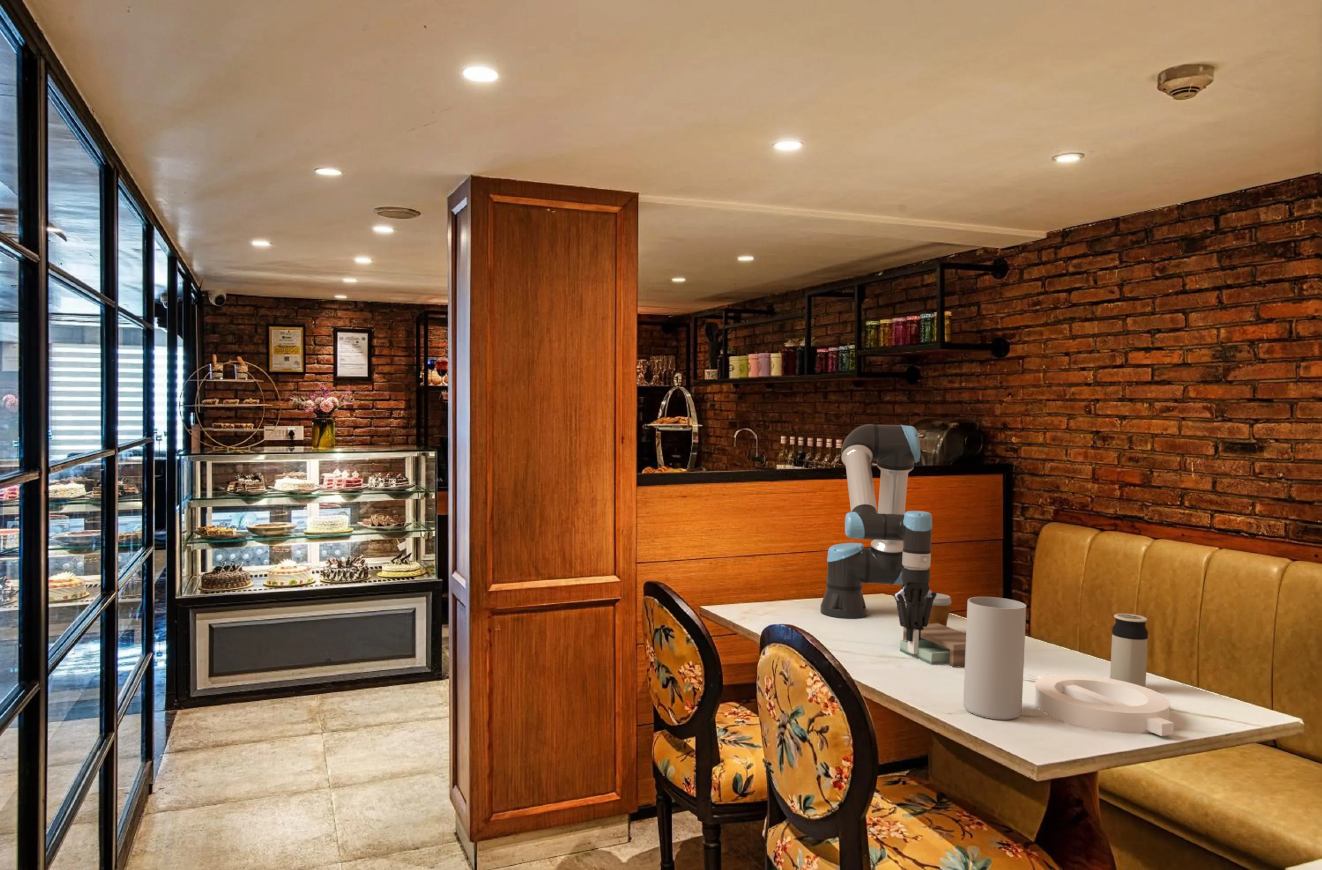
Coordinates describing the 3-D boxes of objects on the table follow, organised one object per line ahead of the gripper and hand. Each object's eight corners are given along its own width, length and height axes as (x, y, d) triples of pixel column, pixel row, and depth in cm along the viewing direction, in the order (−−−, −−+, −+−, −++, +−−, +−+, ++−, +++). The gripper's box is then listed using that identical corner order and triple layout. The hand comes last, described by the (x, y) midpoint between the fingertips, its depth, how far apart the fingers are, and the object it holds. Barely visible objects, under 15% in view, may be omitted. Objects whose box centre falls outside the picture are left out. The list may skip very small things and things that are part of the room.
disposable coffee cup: (946, 631, 282) (948, 593, 281) (953, 639, 272) (955, 599, 272) (915, 630, 282) (916, 591, 282) (921, 637, 273) (922, 598, 273)
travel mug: (1126, 693, 223) (1129, 621, 223) (1102, 683, 231) (1105, 613, 230) (1152, 691, 225) (1156, 619, 225) (1128, 682, 233) (1131, 612, 233)
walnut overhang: (902, 646, 262) (903, 625, 262) (936, 643, 267) (937, 623, 267) (953, 667, 242) (953, 645, 242) (989, 663, 246) (989, 642, 246)
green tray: (899, 650, 257) (900, 640, 257) (934, 648, 261) (935, 637, 261) (931, 664, 244) (931, 653, 244) (967, 661, 248) (967, 650, 248)
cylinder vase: (974, 698, 215) (979, 594, 215) (1028, 711, 207) (1033, 603, 207) (954, 711, 206) (959, 602, 205) (1010, 725, 198) (1015, 611, 197)
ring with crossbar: (1174, 743, 190) (1175, 721, 190) (1031, 720, 202) (1032, 699, 202) (1163, 705, 216) (1164, 685, 216) (1036, 687, 228) (1037, 668, 227)
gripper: (904, 570, 244) (901, 657, 244) (944, 569, 248) (940, 654, 249) (888, 566, 251) (884, 650, 251) (927, 564, 255) (923, 647, 256)
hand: (912, 652), depth 250 cm, fingers closed
